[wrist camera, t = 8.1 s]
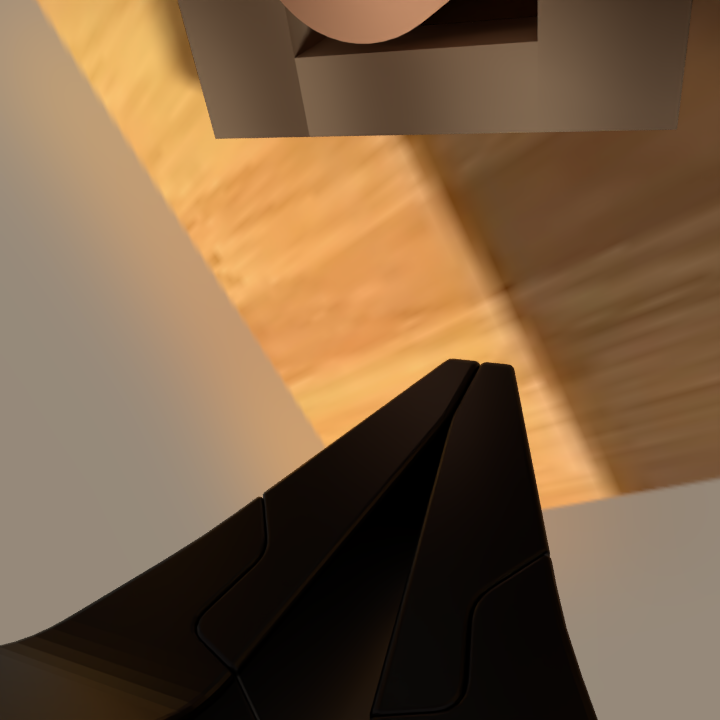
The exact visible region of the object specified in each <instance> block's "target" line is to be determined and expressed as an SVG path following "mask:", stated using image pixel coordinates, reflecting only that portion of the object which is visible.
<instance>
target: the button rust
mask: <svg viewBox="0 0 720 720" xmlns="http://www.w3.org/2000/svg"><path fill="white" fill-rule="evenodd" d="M280 1H281V2H282V3H283V4H284V6H285V7H286V8H287V9H288V10H289V11H290V12H291V13H292V14H293V15H294V16H296V17H297V18H298V19H299V20H300V21H302V22H303V23H304V24H306V25H307V26H309V27H310V28H312V29H313V30H315V31H317V32H319V33H321V34H323V35H325V36H327V37H330V38H333V39H336V40H339V41H343V42H349V43H356V44H371V43H377V42H384V41H387V40H390V39H393V38H396V37H399V36H401V35H403V34H405V33H407V32H409V31H411V30H412V29H414V28H415V27H416V26H418V25H419V24H421V23H422V22H424V21H425V20H426V19H427V18H428V17H430V16H431V15H432V14H433V13H435V12H436V11H437V10H438V9H440V8H441V7H442V6H443V5H445V4H446V3H447V2H448V1H449V0H280Z"/></svg>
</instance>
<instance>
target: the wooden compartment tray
mask: <svg viewBox="0 0 720 720" xmlns="http://www.w3.org/2000/svg"><path fill="white" fill-rule="evenodd" d="M692 1H693V0H538V16H535V17H523V18H511V19H499V20H487V21H474V22H462V23H450V24H438V25H426V26H416V27H415V28H414V29H412V30H411V31H409V32H407V33H405V34H403V35H401V36H399V37H396V38H393V39H390V40H387V41H384V42H377V43H371V44H356V43H349V42H343V41H339V40H336V39H333V38H330V37H327V36H325V35H323V34H321V33H319V32H317V31H315V30H313V29H312V28H310V27H309V26H307V25H306V24H304V23H303V22H302V21H300V20H299V19H298V18H297V17H296V16H294V15H293V14H292V13H291V12H290V11H289V10H288V9H287V8H286V7H285V6H284V4H283V3H282V2H281V1H280V0H178V3H179V7H180V11H181V14H182V18H183V22H184V25H185V29H186V33H187V36H188V40H189V43H190V47H191V51H192V54H193V58H194V62H195V65H196V69H197V73H198V76H199V80H200V84H201V87H202V91H203V95H204V98H205V102H206V105H207V109H208V113H209V116H210V120H211V124H212V127H213V131H214V135H215V138H216V139H224V138H273V137H323V136H373V135H423V134H473V133H523V132H573V131H623V130H673V129H677V125H678V116H679V108H680V100H681V92H682V83H683V75H684V67H685V58H686V50H687V42H688V34H689V25H690V17H691V9H692Z"/></svg>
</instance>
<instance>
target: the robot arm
mask: <svg viewBox="0 0 720 720" xmlns="http://www.w3.org/2000/svg"><path fill="white" fill-rule="evenodd" d="M0 720H598V719H597V717H596V714H595V711H594V708H593V705H592V703H591V700H590V697H589V694H588V691H587V689H586V686H585V683H584V681H583V678H582V675H581V672H580V669H579V665H578V662H577V659H576V656H575V653H574V650H573V647H572V644H571V640H570V638H569V634H568V631H567V628H566V624H565V620H564V616H563V611H562V607H561V603H560V599H559V594H558V590H557V586H556V581H555V575H554V570H553V565H552V561H551V558H550V551H549V546H548V542H547V536H546V531H545V526H544V521H543V515H542V510H541V505H540V500H539V495H538V489H537V484H536V479H535V474H534V469H533V464H532V459H531V453H530V448H529V443H528V438H527V433H526V428H525V423H524V417H523V412H522V407H521V402H520V397H519V392H518V387H517V381H516V376H515V371H514V368H513V367H512V366H511V365H508V364H499V363H489V362H485V363H482V364H481V365H480V364H479V363H478V362H477V361H470V360H461V359H449V360H447V361H445V362H443V363H442V364H441V365H439V366H438V367H437V368H435V369H434V370H432V371H431V372H430V373H428V374H427V375H426V376H424V377H423V378H421V379H420V380H419V381H417V382H416V383H415V384H413V385H412V386H410V387H409V388H408V389H406V390H405V391H404V392H402V393H401V394H399V395H398V396H397V397H395V398H394V399H392V400H391V401H390V402H388V403H387V404H386V405H384V406H383V407H381V408H380V409H379V410H377V411H376V412H375V413H373V414H372V415H370V416H369V417H368V418H366V419H365V420H364V421H362V422H361V423H359V424H358V425H357V426H355V427H354V428H352V429H351V430H350V431H348V432H347V433H346V434H344V435H343V436H341V437H340V438H339V439H337V440H336V441H335V442H333V443H332V444H330V445H329V446H328V447H326V448H325V449H324V450H322V451H321V452H319V453H318V454H317V455H315V456H314V457H313V458H311V459H310V460H308V461H307V462H306V463H304V464H303V465H301V466H300V467H299V468H297V469H296V470H295V471H294V472H292V473H290V474H289V475H288V476H286V477H285V478H284V479H282V480H281V481H279V482H278V483H277V484H275V485H274V486H272V487H271V488H270V489H268V490H267V491H266V492H264V494H263V498H262V497H257V498H256V499H254V500H253V501H252V502H250V503H249V504H247V505H246V506H245V507H243V508H242V509H240V510H239V511H238V512H236V513H235V514H233V515H232V516H231V517H229V518H228V519H226V520H225V521H223V522H222V523H220V524H219V525H217V526H216V527H215V528H213V529H212V530H210V531H209V532H207V533H206V534H204V535H203V536H202V537H200V538H198V539H197V540H195V541H194V542H192V543H190V544H189V545H187V546H186V547H184V548H183V549H181V550H179V551H178V552H176V553H175V554H173V555H171V556H170V557H168V558H166V559H165V560H163V561H162V562H160V563H158V564H157V565H155V566H153V567H152V568H150V569H148V570H147V571H145V572H143V573H142V574H140V575H139V576H137V577H135V578H133V579H132V580H130V581H128V582H127V583H125V584H123V585H122V586H120V587H118V588H117V589H115V590H113V591H112V592H110V593H108V594H107V595H105V596H103V597H102V598H100V599H98V600H97V601H95V602H93V603H92V604H90V605H88V606H87V607H85V608H83V609H82V610H80V611H78V612H77V613H75V614H73V615H72V616H70V617H68V618H66V619H65V620H63V621H61V622H59V623H57V624H56V625H54V626H52V627H50V628H48V629H46V630H43V631H41V632H39V633H37V634H35V635H32V636H30V637H27V638H24V639H21V640H18V641H16V642H12V643H8V644H4V645H0Z"/></svg>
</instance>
